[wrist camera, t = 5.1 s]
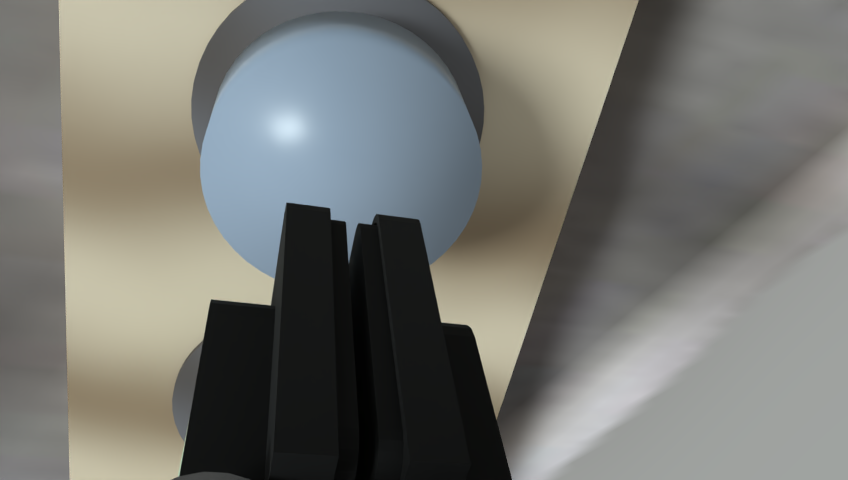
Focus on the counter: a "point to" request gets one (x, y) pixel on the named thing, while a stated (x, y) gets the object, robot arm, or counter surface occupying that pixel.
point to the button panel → (213, 256)
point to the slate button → (338, 135)
